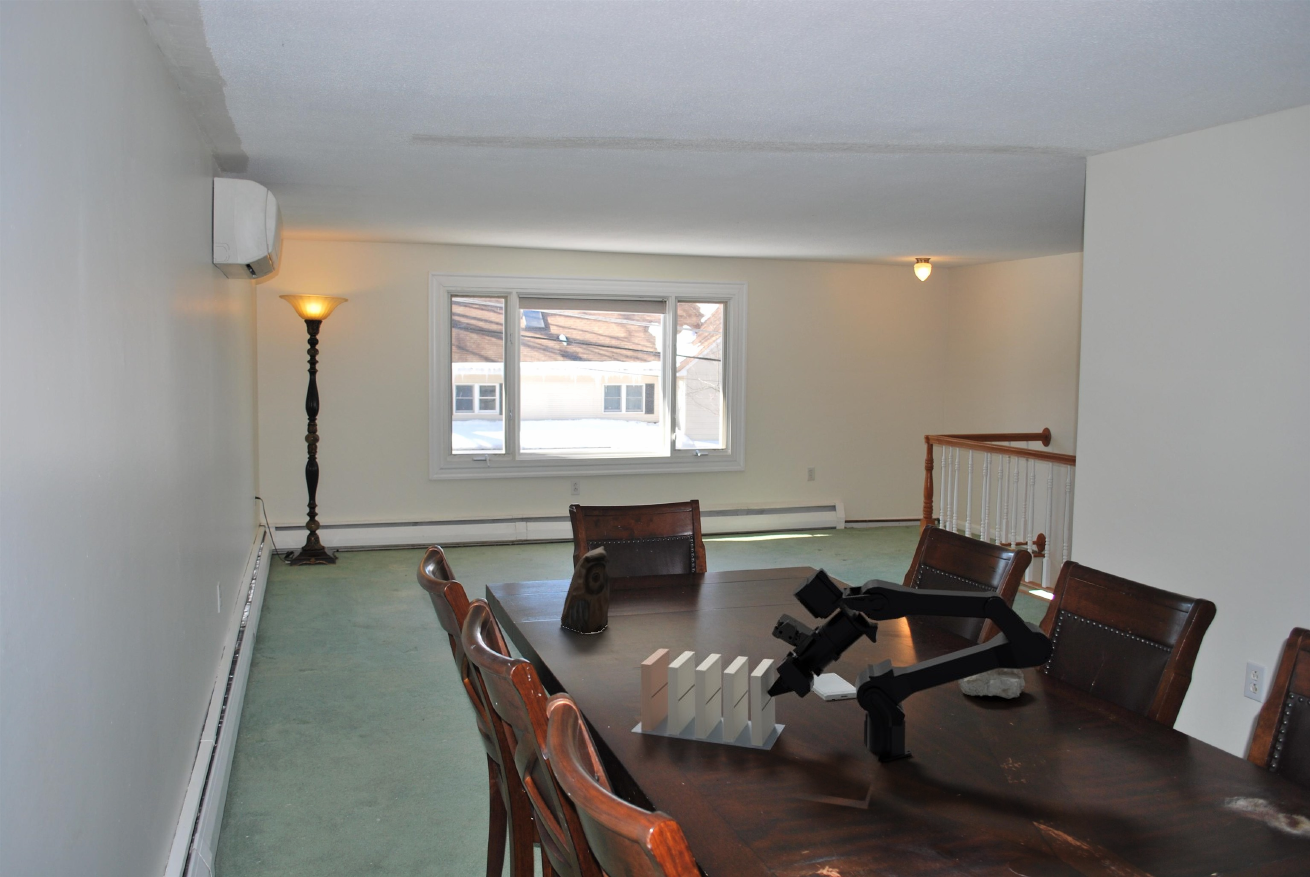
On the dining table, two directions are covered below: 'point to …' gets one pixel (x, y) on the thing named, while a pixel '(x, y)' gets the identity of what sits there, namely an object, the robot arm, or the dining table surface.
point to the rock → (994, 683)
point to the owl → (588, 594)
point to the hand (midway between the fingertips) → (769, 694)
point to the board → (715, 734)
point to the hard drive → (833, 687)
